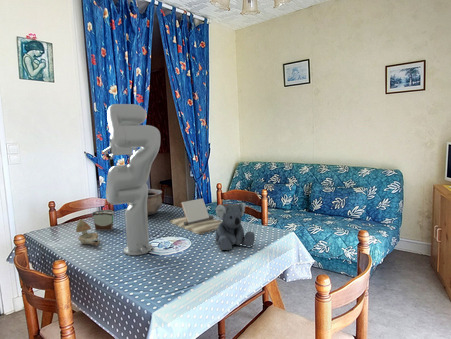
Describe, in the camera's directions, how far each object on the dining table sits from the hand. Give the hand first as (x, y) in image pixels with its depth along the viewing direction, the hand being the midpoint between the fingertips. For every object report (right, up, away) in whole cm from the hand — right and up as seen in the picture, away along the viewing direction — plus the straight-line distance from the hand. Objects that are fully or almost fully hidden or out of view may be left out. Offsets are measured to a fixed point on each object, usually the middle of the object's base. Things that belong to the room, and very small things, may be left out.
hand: (121, 166), depth 158 cm
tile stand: (+37, -33, +19) cm, 53 cm away
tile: (+35, -26, +21) cm, 48 cm away
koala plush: (+55, -36, -12) cm, 67 cm away
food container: (-14, -35, +17) cm, 41 cm away
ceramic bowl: (+1, -31, +44) cm, 54 cm away
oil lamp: (-14, -38, -6) cm, 41 cm away
